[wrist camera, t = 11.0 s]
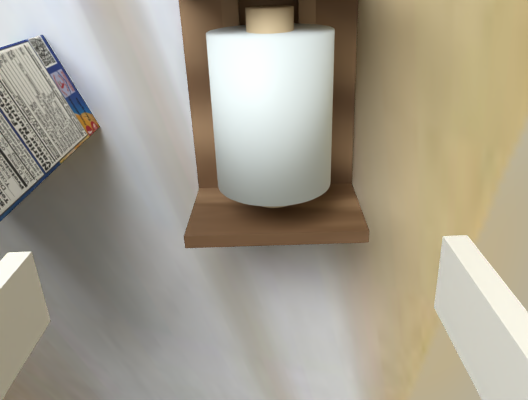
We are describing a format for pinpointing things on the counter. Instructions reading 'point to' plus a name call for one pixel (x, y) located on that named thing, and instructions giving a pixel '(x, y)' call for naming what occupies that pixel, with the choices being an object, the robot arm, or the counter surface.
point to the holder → (209, 196)
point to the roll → (272, 107)
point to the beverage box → (36, 118)
